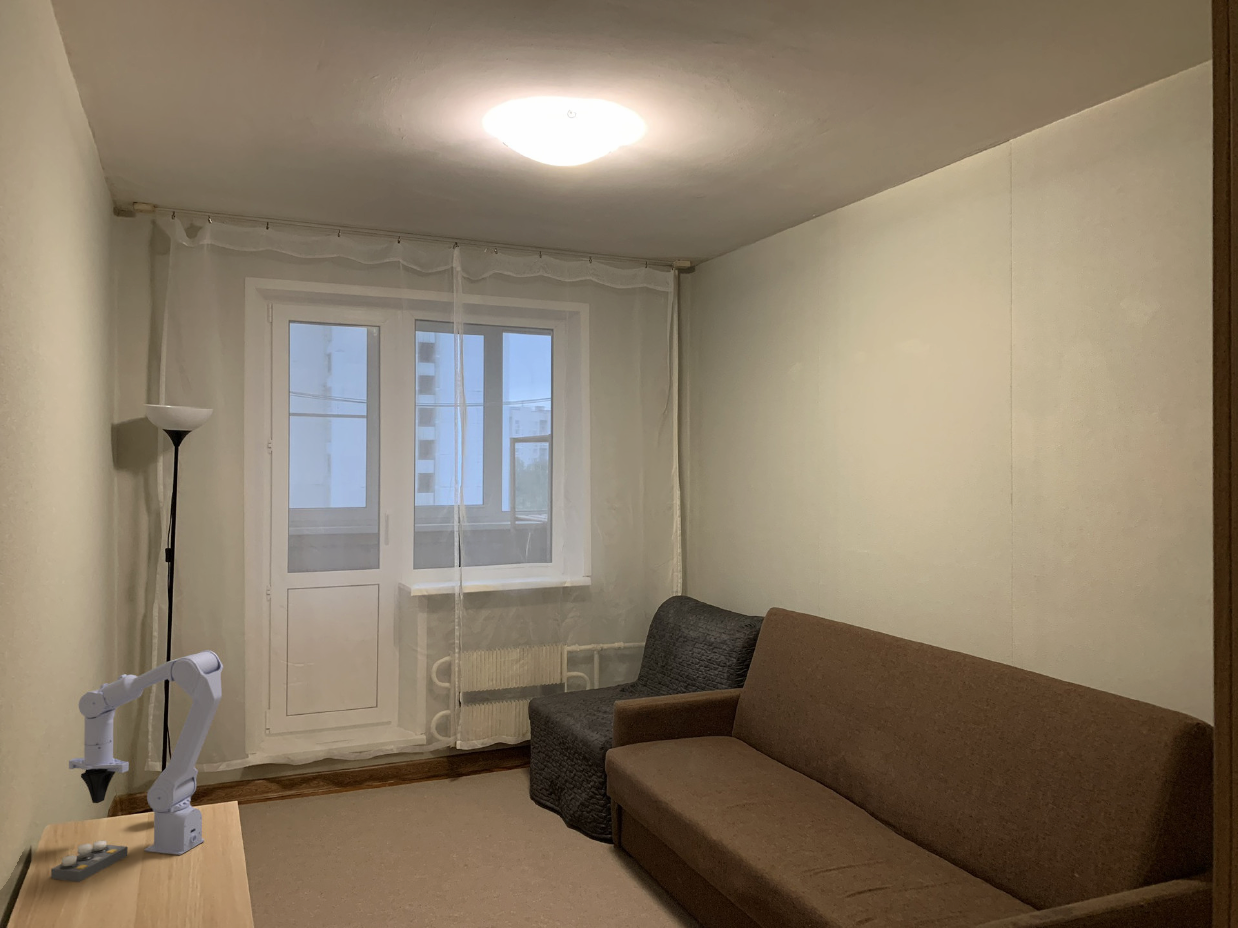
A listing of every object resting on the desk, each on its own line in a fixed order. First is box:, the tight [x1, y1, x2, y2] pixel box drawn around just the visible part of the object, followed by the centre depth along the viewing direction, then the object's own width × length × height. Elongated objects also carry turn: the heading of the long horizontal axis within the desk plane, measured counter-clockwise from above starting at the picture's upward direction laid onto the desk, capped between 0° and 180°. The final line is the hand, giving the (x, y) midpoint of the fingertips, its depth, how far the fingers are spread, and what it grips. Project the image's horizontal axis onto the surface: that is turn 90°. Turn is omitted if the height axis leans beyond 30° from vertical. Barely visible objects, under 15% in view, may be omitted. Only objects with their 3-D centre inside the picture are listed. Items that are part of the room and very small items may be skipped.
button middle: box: [77, 843, 93, 855], centre depth 189 cm, size 3×3×1 cm
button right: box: [92, 840, 108, 851], centre depth 193 cm, size 3×3×1 cm
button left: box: [61, 854, 78, 866], centre depth 185 cm, size 3×3×1 cm
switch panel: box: [50, 844, 129, 883], centre depth 189 cm, size 7×13×2 cm, turn 167°
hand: (98, 801), depth 202 cm, fingers closed
